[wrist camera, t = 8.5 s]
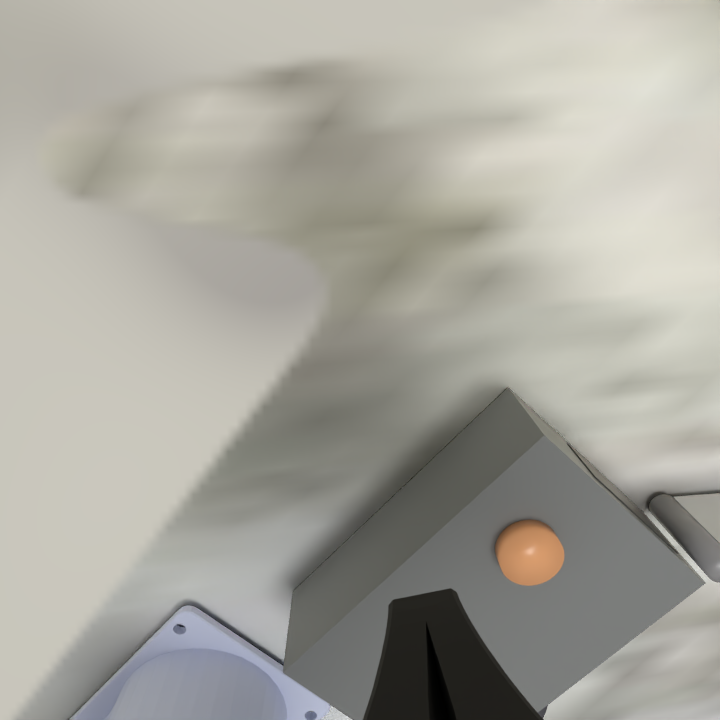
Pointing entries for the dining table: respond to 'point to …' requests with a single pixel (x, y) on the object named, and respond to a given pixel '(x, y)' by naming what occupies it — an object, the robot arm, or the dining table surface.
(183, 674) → the robot arm
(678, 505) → the door
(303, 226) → the dining table surface
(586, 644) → the case
